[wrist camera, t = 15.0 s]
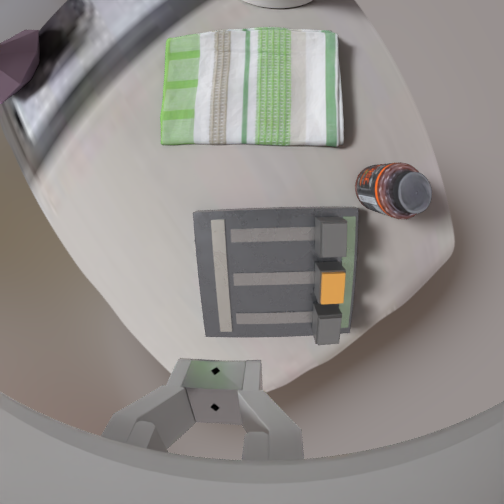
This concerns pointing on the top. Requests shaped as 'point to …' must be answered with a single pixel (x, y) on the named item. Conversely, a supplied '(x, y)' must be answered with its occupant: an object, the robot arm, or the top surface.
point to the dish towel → (253, 88)
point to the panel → (266, 269)
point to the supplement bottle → (393, 190)
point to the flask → (18, 62)
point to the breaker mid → (329, 282)
